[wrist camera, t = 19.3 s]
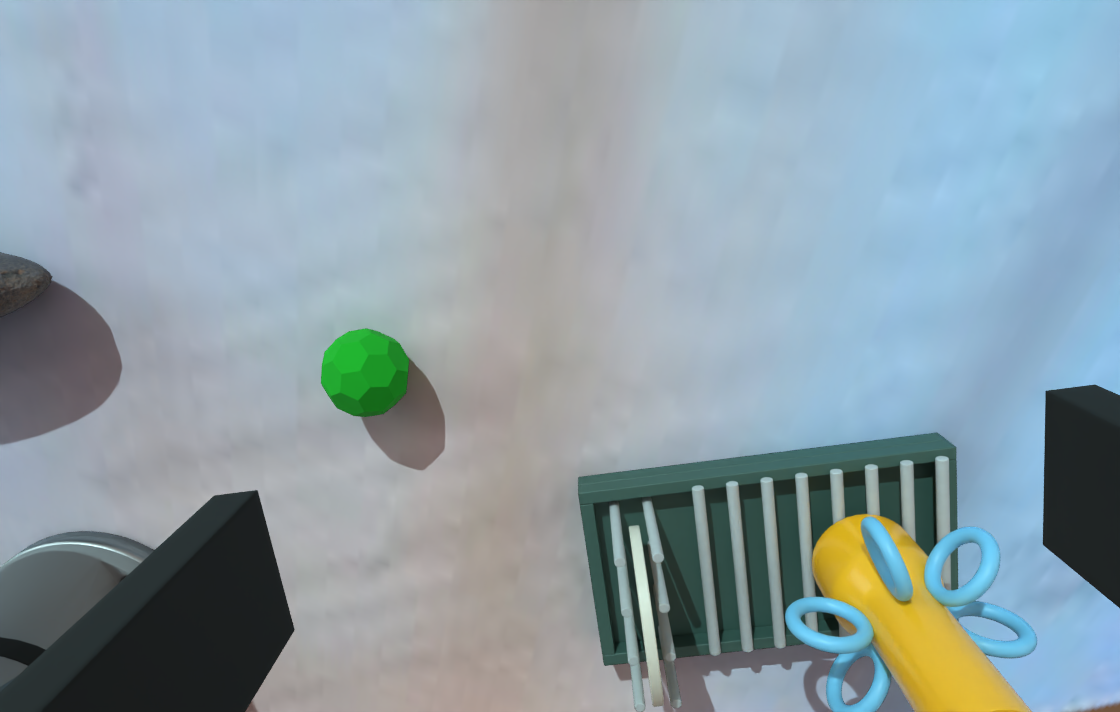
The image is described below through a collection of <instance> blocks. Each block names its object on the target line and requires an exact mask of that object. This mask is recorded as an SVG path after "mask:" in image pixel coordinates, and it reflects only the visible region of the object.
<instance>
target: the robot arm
mask: <svg viewBox="0 0 1120 712" xmlns="http://www.w3.org/2000/svg"><path fill="white" fill-rule="evenodd" d="M1043 545H1044V546H1045V547H1046V548H1048V549H1049V550H1050V551H1051V552H1052V553H1054V554H1055V555H1056V556H1057V557H1058V558H1060V559H1061V560H1062V561H1063V562H1065V563H1066V564H1067V565H1068V566H1069V567H1071V568H1072V569H1073V570H1074V571H1075V572H1077V573H1078V574H1079V575H1080V576H1081V577H1083V578H1084V579H1085V580H1086V581H1088V582H1089V583H1090V584H1091V585H1092V586H1094V587H1095V588H1096V589H1097V590H1098V591H1100V592H1101V593H1102V594H1103V595H1105V596H1106V597H1107V598H1108V599H1109V600H1111V601H1112V602H1113V603H1114V604H1115V605H1117V606H1118V607H1119V608H1120V395H1118V394H1115V393H1113V392H1111V391H1108V390H1106V389H1104V388H1101V387H1099V386H1097V385H1089V386H1081V387H1073V388H1065V389H1057V390H1049V391H1046V406H1045V460H1044V513H1043ZM293 632H294V626H293V622H292V619H291V615H290V611H289V607H288V604H287V600H286V596H285V592H284V588H283V585H282V581H281V577H280V573H279V570H278V566H277V562H276V558H275V555H274V551H273V547H272V543H271V540H270V536H269V532H268V528H267V525H266V521H265V517H264V513H263V509H262V506H261V502H260V498H259V494H258V491H257V490H255V491H247V492H239V493H231V494H224V495H216V496H213V497H212V498H211V499H210V500H209V501H208V502H207V503H206V504H205V505H204V506H203V507H201V508H200V509H199V510H198V511H197V512H196V513H195V514H194V515H193V516H192V517H191V518H189V519H188V520H187V521H186V522H185V523H184V524H183V525H182V526H181V527H180V528H179V529H177V530H176V531H175V532H174V533H173V534H172V535H171V536H170V537H169V538H168V539H167V540H165V541H164V542H163V543H162V544H161V545H160V546H159V547H158V548H157V549H156V550H153V549H151V548H149V547H147V546H145V545H143V544H141V543H139V542H136V541H133V540H131V539H128V538H125V537H121V536H118V535H113V534H108V533H102V532H90V531H79V532H68V533H63V534H58V535H54V536H51V537H48V538H45V539H43V540H40V541H38V542H36V543H34V544H32V545H30V546H29V547H27V548H26V549H24V550H23V551H21V552H20V553H19V554H17V555H16V556H14V557H13V558H11V559H10V560H9V561H7V562H6V563H4V564H3V565H2V566H1V567H0V712H245V711H246V709H247V708H248V706H249V704H250V703H251V701H252V699H253V698H254V696H255V694H256V693H257V691H258V689H259V688H260V686H261V685H262V683H263V681H264V680H265V678H266V676H267V675H268V673H269V671H270V670H271V668H272V666H273V665H274V663H275V661H276V660H277V658H278V657H279V655H280V653H281V652H282V650H283V648H284V647H285V645H286V643H287V642H288V640H289V638H290V637H291V635H292V633H293Z"/></svg>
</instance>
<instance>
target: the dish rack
mask: <svg viewBox="0 0 1120 712" xmlns="http://www.w3.org/2000/svg"><path fill="white" fill-rule="evenodd" d="M578 495H579V502H580V509H581V515H582V522H583V529H584V535H585V542H586V549H587V555H588V562H589V569H590V575H591V582H592V589H593V595H594V602H595V609H596V615H597V622H598V629H599V635H600V642H601V649H602V654H603V662H604V665H605V666H607V665H616V664H626V663H629V664H630V668H631V678H632V687H633V697H634V707H635V710H636V711H637V712H643V711H644V710H645V699H644V691H643V683H642V675H641V666H640V662H644V661H647V668H648V675H649V683H650V690H651V697H652V705H653V706H654V707H656V706H663V705H664V699H663V690H662V682H661V674H660V666H659V660H663V661H664V667H665V673H666V679H667V685H668V691H669V697H670V703H671V706H672V707H673V708H679V707H681V705H682V702H681V697H680V692H679V686H678V681H677V676H676V671H675V665H674V660H675V659H676V658H681V657H690V656H699V655H709V654H711V655H713V656H717V655H720V653H727V652H736V651H744V652H751V651H753V650H755V649H764V648H773V647H776V648H779V649H782V648H784V647H785V646H792V645H801V644H805V643H803V642H802V641H800V640H799V639H798V638H796V637H795V636H794V635H793V634H792V633H791V631H790V630H789V629H788V627H787V624H786V621H785V613H786V610H787V608H788V607H789V606H790V605H791V604H792V603H793V602H795V601H797V600H799V599H802V598H806V597H824V596H823V594H822V592H821V591H820V589H819V587H818V585H817V583H816V581H815V579H814V576H813V573H812V556H813V550H814V548H815V546H816V543H817V541H818V540H819V538H820V537H821V535H822V534H823V533H824V532H825V531H826V530H827V529H828V528H829V527H830V526H832V525H833V524H835V523H836V522H838V521H840V520H842V519H844V518H846V517H850V516H854V515H861V514H871V515H878V516H882V517H885V518H888V519H890V520H892V521H894V522H896V523H897V524H899V525H900V526H901V527H902V528H903V529H904V530H905V531H906V532H907V533H908V534H909V535H910V536H911V538H912V539H913V540H914V541H915V542H916V543H917V544H918V546H919V547H920V548H921V549H922V550H923V551H924V552H925V553H926V555H927V556H928V557H929V555H930V553H931V551H932V550H933V548H934V547H935V546H936V544H937V543H938V542H939V541H940V540H941V539H942V538H943V537H945V536H946V535H947V534H949V533H950V532H952V531H954V530H956V529H957V468H956V447H955V446H954V445H953V444H951V443H950V442H949V441H947V440H946V439H945V438H944V437H942V436H941V435H940V434H938V433H931V434H923V435H915V436H907V437H899V438H891V439H882V440H874V441H866V442H858V443H850V444H842V445H834V446H826V447H818V448H810V449H802V450H794V451H786V452H777V453H769V454H761V455H753V456H745V457H737V458H729V459H721V460H713V461H705V462H697V463H689V464H681V465H672V466H664V467H656V468H648V469H640V470H632V471H624V472H616V473H608V474H600V475H592V476H584V477H579V478H578ZM941 576H942V579H943V582H944V587H945V589H947V590H956V589H958V548H956V549H955V550H954V551H953V552H952V553H951V554H950V555H949V557H948V558H947V560H946V561H945V563H944V565H943V568H942V572H941ZM801 621H802V622H803V623H804V624H805V625H806V626H807V627H809V628H810V629H812V630H814V631H816V632H819V633H821V634H825V635H829V636H835V637H846V636H851V635H850V634H849V633H848V632H847V631H846V630H845V629H844V628H843V627H842V626H841V625H840V623H839V622H838V620H837V619H836V617H835V615H834V614H830V613H825V612H811V613H807V614H804V615H803V616H802V617H801Z"/></svg>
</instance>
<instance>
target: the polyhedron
mask: <svg viewBox="0 0 1120 712" xmlns="http://www.w3.org/2000/svg"><path fill="white" fill-rule="evenodd" d="M408 367H409V358H408V357H407V355H406V354H405V352H404V350H403V349H402V347H401V345H400V344H399V343H398V342H397V341H396V340H395V339H393V338H391V337H389V336H387V335H384V334H382V333H380V332H378V331H374V330H370V329H367V328H366V329H361V330H355V331H349V332H347V333H346V334H344V335H342V336H341V337H339V338H338V339H336V340H335V341H334V343H333V344H332V345H331V346H330V347H329V348H328V349H327V350H326V351H325V353H324V358H323V363H322V374H321V384H322V386H323V388H324V389H325V391H326V392H327V394H328V396H329V397H330V399H331V400H332V402H333V403H334V405H335V406H336V407H337V408H338V409H340V410H342V411H344V412H347V413H349V414H351V415H353V416H361V417H369V416H374V415H380V414H384V413H385V412H387V411H388V410H389V409H390V408H392V407H393V406H394V405H395V404H396V403H397V402H398V401H399V400H400V399H401V398H402V397H403V396H404V395H405V394H406V390H407V379H408Z"/></svg>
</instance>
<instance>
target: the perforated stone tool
mask: <svg viewBox="0 0 1120 712" xmlns="http://www.w3.org/2000/svg"><path fill="white" fill-rule="evenodd" d="M51 279H52V276H51V274H50V273H49V272H48V271H47V270H46V269H44V268H43V267H42V266H40V265H39V264H37V263H34V262H32V261H30V260H27V259H24V258H21V257H17V256H13V255H9V254H4V253H1V252H0V317H2V316H4V315H7V314H9V313H11V312H13V311H15V310H17V309H18V308H20V307H22V306H24V305H25V304H27V303H29V302H30V301H32V300H33V299H35V298H36V297H37V296H39V295H40V294H41V293H42V292H43V291H44V290H45V289H46V288H47V287H48V286H49V284H50V283H51Z"/></svg>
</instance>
